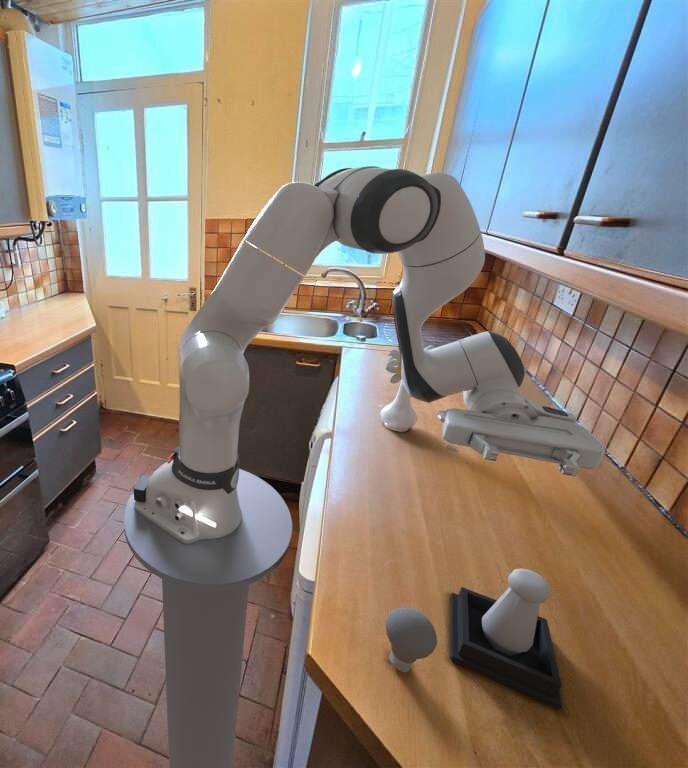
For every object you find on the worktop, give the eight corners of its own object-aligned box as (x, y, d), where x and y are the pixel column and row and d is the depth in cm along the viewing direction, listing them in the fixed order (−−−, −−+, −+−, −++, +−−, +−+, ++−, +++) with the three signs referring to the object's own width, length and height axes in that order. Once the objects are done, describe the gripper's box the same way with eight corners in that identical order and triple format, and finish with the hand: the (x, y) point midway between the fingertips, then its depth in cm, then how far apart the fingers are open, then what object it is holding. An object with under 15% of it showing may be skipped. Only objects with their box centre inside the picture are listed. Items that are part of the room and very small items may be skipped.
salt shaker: (529, 670, 56) (565, 606, 50) (478, 648, 58) (508, 585, 53) (522, 634, 60) (556, 572, 55) (476, 615, 63) (503, 554, 57)
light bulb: (429, 664, 57) (448, 617, 53) (414, 697, 54) (434, 650, 49) (385, 634, 61) (399, 589, 57) (369, 664, 58) (383, 617, 53)
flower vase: (367, 436, 112) (385, 351, 101) (377, 409, 126) (395, 332, 115) (420, 450, 105) (446, 361, 95) (425, 420, 119) (448, 339, 109)
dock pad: (450, 660, 58) (457, 644, 56) (450, 596, 67) (456, 581, 66) (560, 710, 52) (570, 694, 51) (543, 632, 61) (552, 617, 60)
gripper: (440, 393, 73) (453, 430, 62) (586, 415, 66) (631, 461, 54) (431, 424, 76) (442, 464, 64) (570, 448, 68) (610, 498, 57)
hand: (530, 463), depth 59 cm, fingers open, 8 cm apart
